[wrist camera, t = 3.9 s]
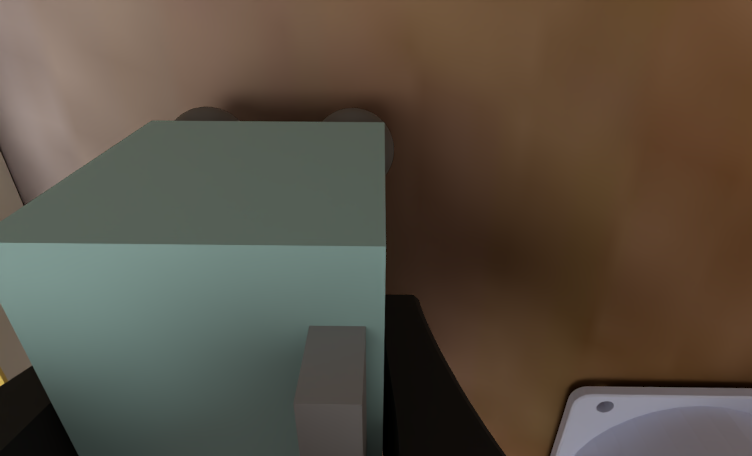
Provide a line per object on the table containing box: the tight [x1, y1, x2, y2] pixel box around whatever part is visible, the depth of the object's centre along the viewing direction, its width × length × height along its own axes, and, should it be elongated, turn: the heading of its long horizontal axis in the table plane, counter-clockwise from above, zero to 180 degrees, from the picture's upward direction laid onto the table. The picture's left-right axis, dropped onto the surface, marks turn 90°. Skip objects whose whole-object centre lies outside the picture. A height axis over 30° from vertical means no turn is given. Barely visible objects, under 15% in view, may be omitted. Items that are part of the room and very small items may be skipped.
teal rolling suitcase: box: [0, 107, 394, 456], centre depth 8 cm, size 4×8×7 cm, turn 0°
